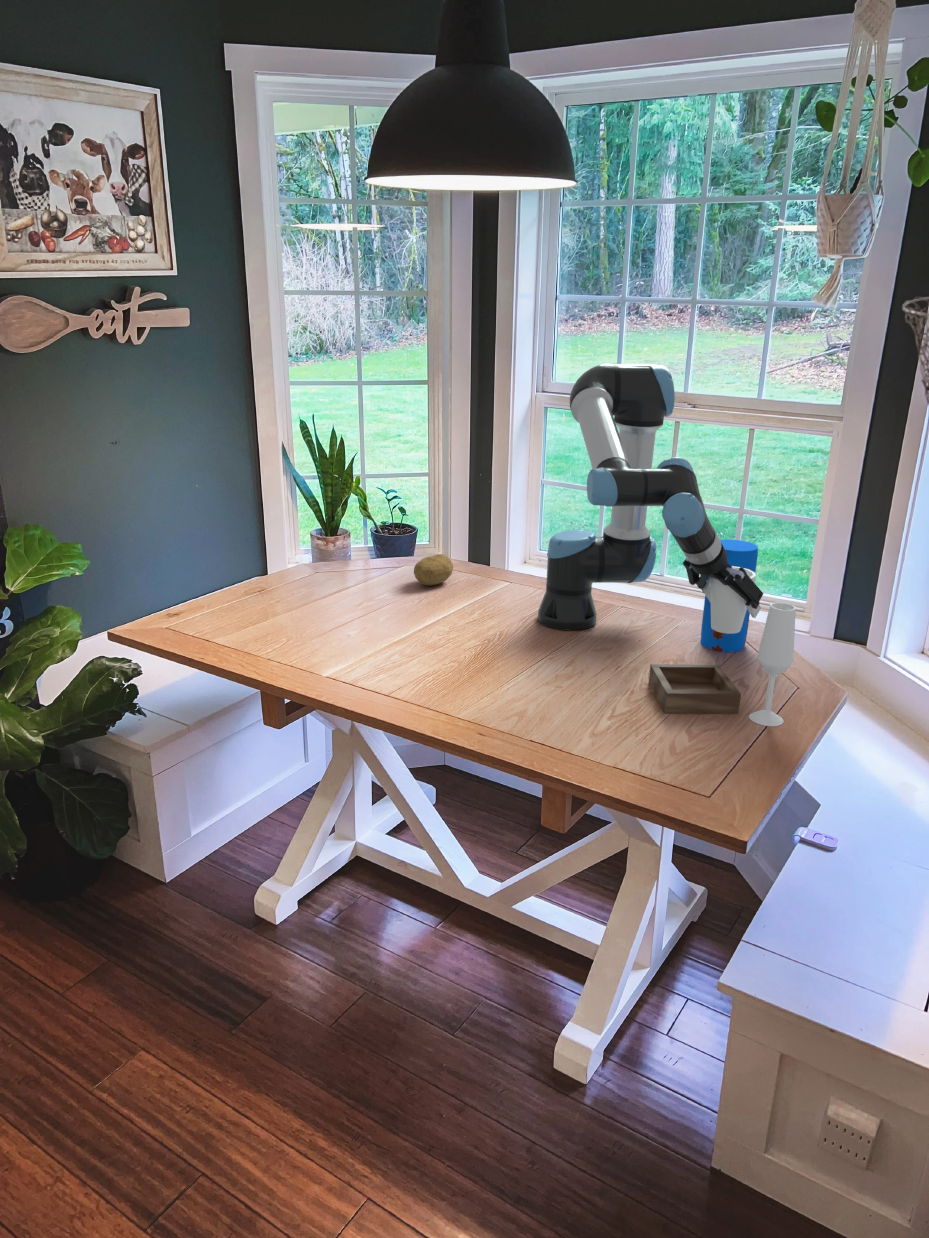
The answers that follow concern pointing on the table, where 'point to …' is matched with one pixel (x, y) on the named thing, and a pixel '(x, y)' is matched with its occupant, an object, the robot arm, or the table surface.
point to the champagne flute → (775, 654)
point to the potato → (433, 569)
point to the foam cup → (727, 606)
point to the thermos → (746, 558)
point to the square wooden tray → (694, 689)
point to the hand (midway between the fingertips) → (735, 606)
